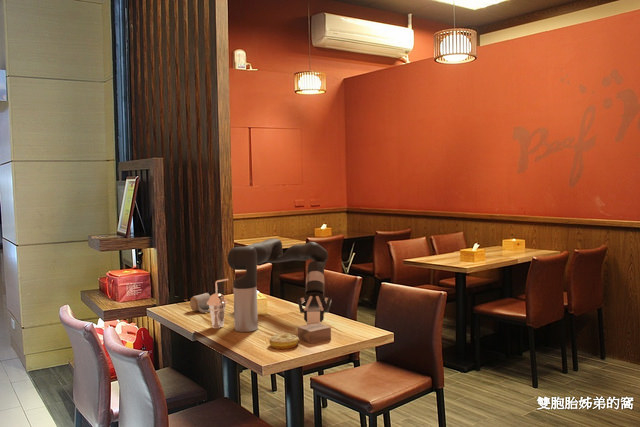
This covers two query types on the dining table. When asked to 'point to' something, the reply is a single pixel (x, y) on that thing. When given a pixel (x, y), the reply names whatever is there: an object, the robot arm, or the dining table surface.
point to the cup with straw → (217, 307)
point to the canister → (313, 315)
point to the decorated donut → (283, 341)
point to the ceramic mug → (200, 303)
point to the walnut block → (314, 333)
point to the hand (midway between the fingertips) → (313, 320)
